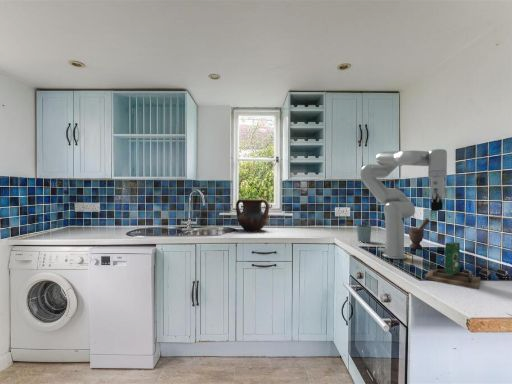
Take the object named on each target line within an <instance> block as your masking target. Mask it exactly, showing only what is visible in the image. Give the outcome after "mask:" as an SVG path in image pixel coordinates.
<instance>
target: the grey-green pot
mask: <svg viewBox="0 0 512 384" xmlns="http://www.w3.org/2000/svg"><path fill="white" fill-rule="evenodd" d="M356 232H357V242H358V241H361V242H370V243H371V238H372V237H371V235H372V225H368V224H357V225H356ZM361 242H360V243H361Z"/></svg>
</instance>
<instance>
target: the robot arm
mask: <svg viewBox="0 0 512 384" xmlns="http://www.w3.org/2000/svg"><path fill="white" fill-rule="evenodd" d="M375 161H376V163H377V164H375V163H373V164H371V163H370V164H366V165H364V166H362V168H361V169H360V173H359V174H360V175H359V176H360V179H361V181H362V183H363V185H364V186H365V187H366V188H367V189H368V190H369V191H370V192H371V194H372V195H373V197H374V198H375V200H376V201H377V202H378V203H380V204H381V205H383V214H384V221H385V238H384V241H385V247H378V248H377V251H378V252H382V253H381V255H382V257H385V258H387V259H392V260H395V259H396V260H406V259H408V256H407V254H405V223H404V221H403V219H406V218H411V217H413V216H414V215H415V213H416V207H415V205H414V204H413V202H412V201H411V200H410V199H409V198H408V197H407V196H406V195H405V193H404V192H403V191H402V190H400V189H398V188H388V187H387V186H386V185H385V184H384V183H383V182H382V181H381V180H379V179H385V178H387V177H388V176H389V175H390V174H391V173H392V172H393V171H394V170H395V169H396V168H397V167H402V166H413V167H414V166H419V167H428V170H427V175H428V176H427V179H430V197H431V202H430V203H431V205H430V206H431V208H430V209H431V211H433V212H439V211H442V210H443V205H444V204H443V203H444V202H443V199H445V198H446V190H445V189H446V183H445V179H447V178H448V176H447V174H448V171H447V170H448V168H447V167H448V152H447V150H446V149H443V148H442V149H441V148H440V149H439V148H436V149H432V150H429V151H428V150H427V151H426V150H394V151H393V150H392V151H391V150H389V151H381V152H379V153H378V154H376V156H375Z"/></svg>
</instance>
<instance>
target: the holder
mask: <svg viewBox="0 0 512 384" xmlns="http://www.w3.org/2000/svg"><path fill="white" fill-rule="evenodd" d="M424 279H425V280H427V279H428V281H432V280H433V282H438V283H444V284H449V285H455V286H461V287H466V288H471V289H476V290H479V289H480V284H481V277H479V276H474V275H473V274H472V273H466V272H460V271H459V273H456V274H454V275H447V274H445V269H441V268H435V269H430V270H429V271H428V272H426V274H425V275H424Z"/></svg>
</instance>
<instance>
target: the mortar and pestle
mask: <svg viewBox="0 0 512 384" xmlns="http://www.w3.org/2000/svg"><path fill="white" fill-rule="evenodd" d="M430 220H431V219H428V218H425V219H424V220H423V221H422V223H421V225H420V226H419V227H408V236H409V240H410V241H411V244H410V245H409V248H410V249H414V250H422V249H423V245H421V242H423V240H424V239H423V238H424V236H425V229H424V228H425V227H426V226H427V225H428V224H429V223H430Z"/></svg>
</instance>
